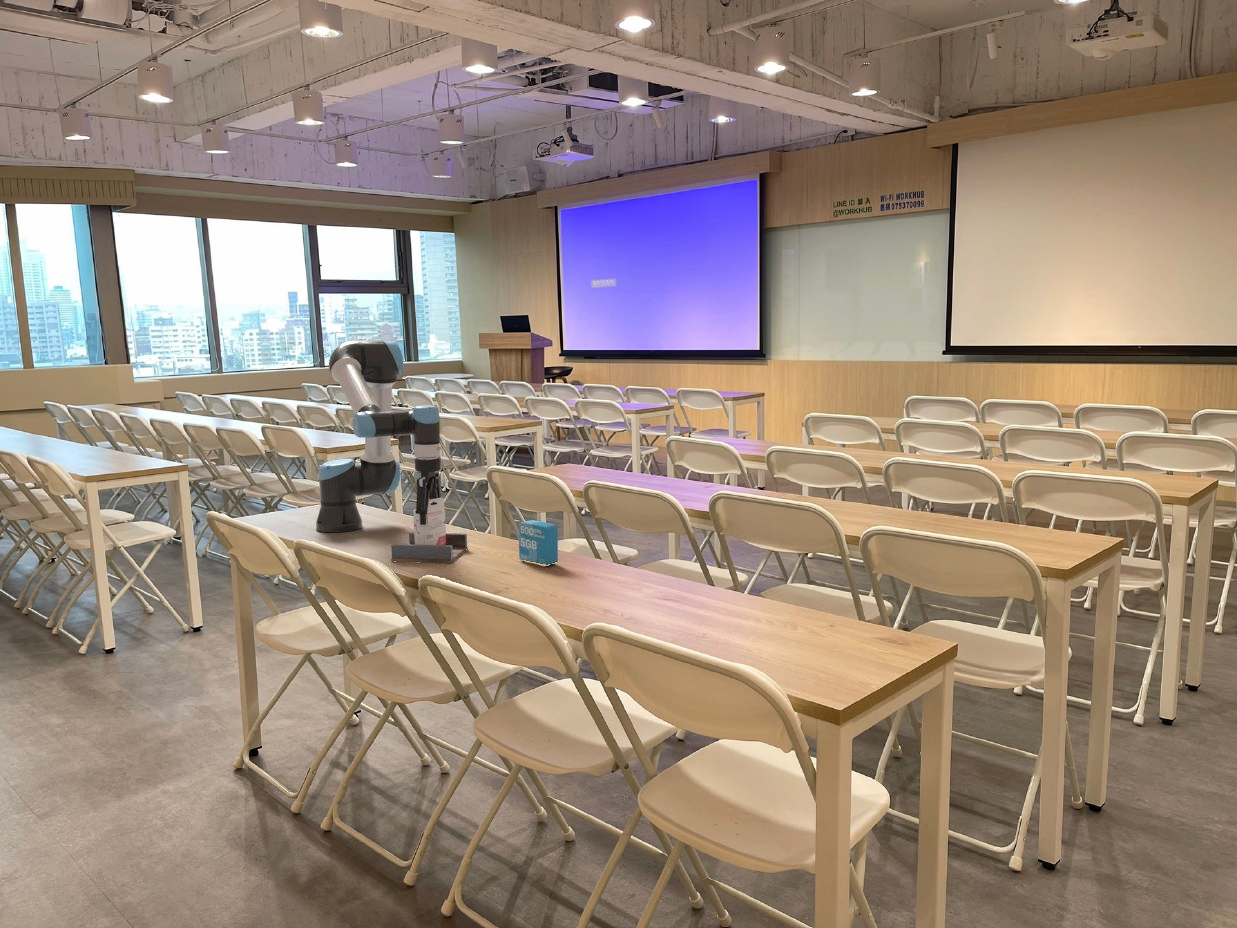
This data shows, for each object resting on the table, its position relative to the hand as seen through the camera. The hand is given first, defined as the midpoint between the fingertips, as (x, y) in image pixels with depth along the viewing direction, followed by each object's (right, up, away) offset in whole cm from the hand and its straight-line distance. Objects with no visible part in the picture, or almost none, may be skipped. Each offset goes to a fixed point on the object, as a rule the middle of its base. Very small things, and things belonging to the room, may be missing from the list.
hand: (429, 531), depth 269 cm
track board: (0, -7, +1) cm, 7 cm away
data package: (+34, -9, -8) cm, 35 cm away
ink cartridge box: (0, -5, +1) cm, 5 cm away
